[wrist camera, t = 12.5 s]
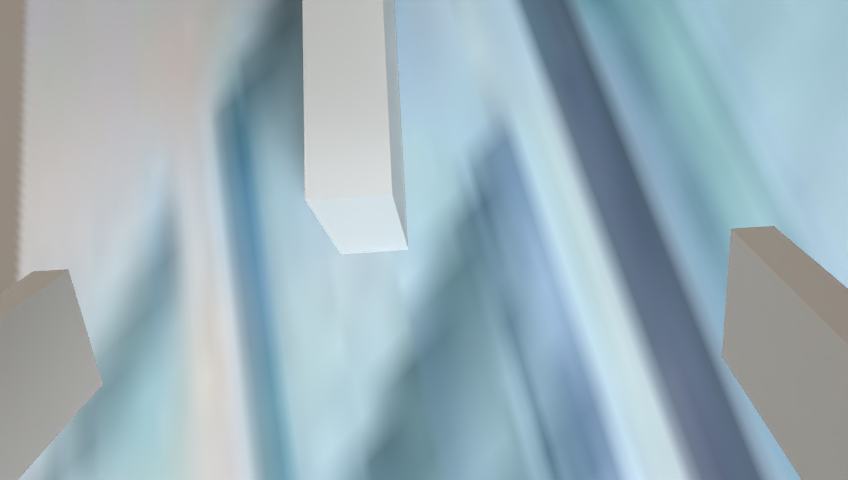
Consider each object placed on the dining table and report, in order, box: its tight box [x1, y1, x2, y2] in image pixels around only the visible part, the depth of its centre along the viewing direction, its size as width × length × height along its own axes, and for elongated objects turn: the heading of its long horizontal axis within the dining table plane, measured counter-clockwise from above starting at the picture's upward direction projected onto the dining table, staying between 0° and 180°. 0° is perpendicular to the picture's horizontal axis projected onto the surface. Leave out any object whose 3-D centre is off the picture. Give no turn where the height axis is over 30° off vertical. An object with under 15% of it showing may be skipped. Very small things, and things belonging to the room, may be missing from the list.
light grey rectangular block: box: [302, 0, 408, 254], centre depth 39 cm, size 4×18×10 cm, turn 3°
